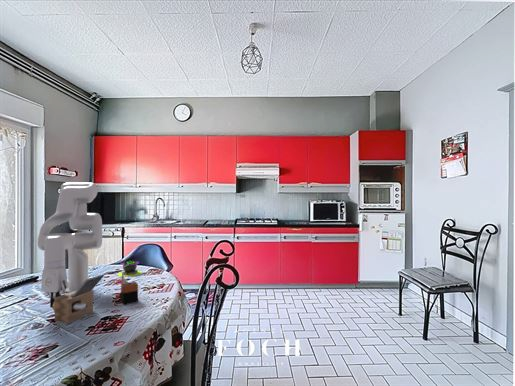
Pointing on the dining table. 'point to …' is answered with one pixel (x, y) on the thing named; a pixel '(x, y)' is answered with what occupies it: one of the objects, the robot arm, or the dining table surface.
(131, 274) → the toy cauldron
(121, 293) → the tow hook
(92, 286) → the grey flat plate
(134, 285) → the battery
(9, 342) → the dining table surface
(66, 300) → the block
